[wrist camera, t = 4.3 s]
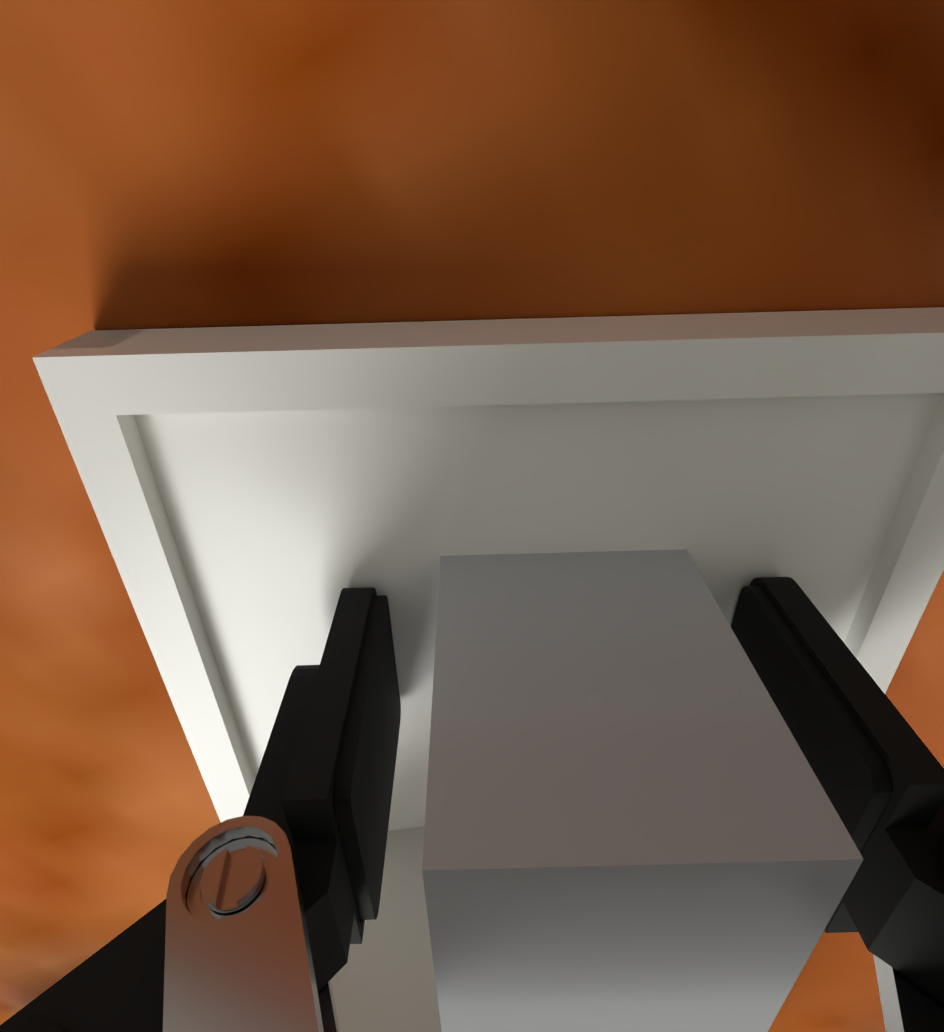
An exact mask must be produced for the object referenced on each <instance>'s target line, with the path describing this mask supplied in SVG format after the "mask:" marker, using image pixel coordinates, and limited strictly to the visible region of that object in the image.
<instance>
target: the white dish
mask: <svg viewBox="0 0 944 1032" xmlns="http://www.w3.org/2000/svg"><path fill="white" fill-rule="evenodd" d="M32 358H33V361H34V363H35V366H36V368H37V371H38V373H39V375H40V378H41V380H42V383H43V385H44V388H45V390H46V393H47V395H48V398H49V400H50V403H51V405H52V407H53V410H54V412H55V415H56V417H57V420H58V422H59V425H60V427H61V430H62V432H63V435H64V437H65V439H66V442H67V444H68V447H69V449H70V452H71V454H72V457H73V459H74V462H75V464H76V467H77V469H78V472H79V474H80V476H81V479H82V481H83V484H84V486H85V489H86V491H87V494H88V496H89V499H90V501H91V504H92V506H93V508H94V511H95V513H96V516H97V518H98V521H99V523H100V526H101V528H102V531H103V533H104V536H105V538H106V541H107V543H108V545H109V548H110V550H111V553H112V555H113V558H114V560H115V563H116V565H117V568H118V570H119V573H120V575H121V577H122V580H123V582H124V585H125V587H126V590H127V592H128V595H129V597H130V600H131V602H132V605H133V607H134V610H135V612H136V614H137V617H138V619H139V622H140V624H141V627H142V629H143V632H144V634H145V637H146V639H147V642H148V644H149V646H150V649H151V651H152V654H153V656H154V659H155V661H156V664H157V666H158V669H159V671H160V674H161V676H162V679H163V681H164V683H165V686H166V688H167V691H168V693H169V696H170V698H171V701H172V703H173V706H174V708H175V711H176V713H177V715H178V718H179V720H180V723H181V725H182V728H183V730H184V733H185V735H186V738H187V740H188V743H189V745H190V748H191V750H192V752H193V755H194V757H195V760H196V762H197V765H198V767H199V770H200V772H201V775H202V777H203V780H204V782H205V784H206V787H207V789H208V792H209V794H210V797H211V799H212V802H213V804H214V807H215V809H216V812H217V814H218V817H219V819H220V821H221V822H223V821H225V820H227V819H232V818H236V817H241V816H243V814H244V811H245V808H246V805H247V802H248V799H249V796H250V794H251V791H252V788H253V785H254V782H255V779H256V776H257V773H258V770H259V767H260V764H261V761H262V758H263V755H264V752H265V749H266V746H267V743H268V740H269V737H270V734H271V732H272V729H273V726H274V723H275V720H276V717H277V714H278V711H279V708H280V705H281V702H282V699H283V696H284V693H285V690H286V687H287V684H288V681H289V678H290V676H291V673H292V671H293V669H294V668H295V667H296V666H297V665H320V662H321V659H322V655H323V652H324V648H325V645H326V641H327V638H328V634H329V631H330V628H331V624H332V621H333V617H334V614H335V610H336V607H337V603H338V600H339V596H340V593H341V590H342V589H343V588H367V587H374V588H375V589H376V593H377V596H378V595H386V596H387V598H388V604H389V612H390V620H391V628H392V636H393V644H394V653H395V661H396V669H397V677H398V685H399V694H400V702H401V720H400V729H399V738H398V747H397V756H396V764H395V773H394V782H393V791H392V799H391V808H390V817H389V826H388V831H391V830H399V829H406V828H414V827H422V826H425V812H426V795H427V778H428V761H429V744H430V727H431V710H432V693H433V676H434V659H435V642H436V625H437V608H438V591H439V574H440V557H441V556H457V555H494V554H532V553H569V552H607V551H645V550H682V549H686V550H687V552H688V553H689V555H690V557H691V559H692V560H693V562H694V564H695V566H696V567H697V569H698V571H699V573H700V574H701V576H702V578H703V580H704V581H705V583H706V585H707V587H708V588H709V590H710V592H711V594H712V595H713V597H714V599H715V601H716V602H717V604H718V606H719V608H720V609H721V611H722V613H723V614H724V616H725V618H726V620H727V621H728V623H729V625H730V627H731V624H732V621H733V617H734V613H735V609H736V605H737V602H738V598H739V594H740V591H741V589H742V588H743V587H744V586H750V583H751V581H752V580H753V579H754V578H757V577H790V578H792V579H793V580H795V581H796V583H797V584H798V585H799V586H800V588H801V589H802V590H803V591H804V593H805V594H806V595H807V597H808V598H809V599H810V600H811V602H812V603H813V604H814V605H815V607H816V608H817V609H818V610H819V612H820V613H821V614H822V616H823V617H824V618H825V619H826V621H827V622H828V623H829V624H830V626H831V627H832V628H833V629H834V631H835V632H836V633H837V635H838V636H839V637H840V638H841V640H842V641H843V642H844V643H845V645H846V646H847V647H848V648H849V650H850V651H851V652H852V654H853V655H854V656H855V657H856V659H857V660H858V661H859V662H860V663H861V665H862V666H863V667H864V668H865V670H866V671H867V672H868V673H869V675H870V676H871V677H872V679H873V680H874V681H875V682H876V684H877V685H878V686H879V687H880V689H881V690H882V691H883V692H884V694H885V693H886V690H887V688H888V686H889V684H890V682H891V680H892V678H893V676H894V674H895V671H896V669H897V667H898V665H899V663H900V661H901V659H902V657H903V654H904V652H905V650H906V648H907V646H908V644H909V642H910V640H911V638H912V635H913V633H914V631H915V629H916V627H917V625H918V623H919V621H920V618H921V616H922V614H923V612H924V610H925V608H926V606H927V604H928V601H929V599H930V597H931V595H932V593H933V591H934V589H935V587H936V585H937V582H938V580H939V578H940V576H941V574H942V572H943V570H944V307H932V308H895V309H859V310H822V311H786V312H750V313H713V314H677V315H640V316H604V317H568V318H531V319H495V320H458V321H422V322H386V323H349V324H313V325H276V326H240V327H204V328H167V329H131V330H94V331H89V332H87V333H85V334H83V335H81V336H78V337H76V338H74V339H72V340H70V341H67V342H65V343H63V344H61V345H59V346H56V347H54V348H52V349H50V350H48V351H45V352H43V353H41V354H39V355H37V356H34V357H32Z"/></svg>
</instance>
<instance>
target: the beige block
mask: <svg viewBox="0 0 944 1032" xmlns="http://www.w3.org/2000/svg"><path fill="white" fill-rule="evenodd" d="M424 829H425V826H422V827H414V828H406V829H399V830H391V831H388V834H387V843H386V852H385V861H384V869H383V878H382V887H381V896H380V904H379V912H378V916H377V919H376V920H365V924H364V931H363V939H362V944H350V948H349V954H348V961H347V963H346V965H345V966H344V967H343V968H342V969H341V970H340V971H339V972H338V973H337V974H336V975H335V976H334V977H333V978H332V979H331V985H332V991H333V997H334V1002H335V1008H336V1013H337V1019H338V1025H339V1030H340V1032H442V1030H441V1022H440V1014H439V1006H438V997H437V989H436V981H435V973H434V965H433V956H432V948H431V940H430V932H429V923H428V915H427V907H426V899H425V891H424V882H423V874H422V863H423V846H424Z"/></svg>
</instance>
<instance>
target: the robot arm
mask: <svg viewBox="0 0 944 1032" xmlns="http://www.w3.org/2000/svg"><path fill="white" fill-rule="evenodd" d="M731 628H732V630H733V632H734V634H735V635H736V637H737V639H738V641H739V642H740V644H741V646H742V648H743V649H744V651H745V653H746V655H747V656H748V658H749V660H750V662H751V663H752V665H753V667H754V669H755V670H756V672H757V674H758V676H759V677H760V679H761V681H762V683H763V684H764V686H765V688H766V690H767V691H768V693H769V695H770V697H771V698H772V700H773V702H774V703H775V705H776V707H777V709H778V710H779V712H780V714H781V716H782V717H783V719H784V721H785V723H786V724H787V726H788V728H789V730H790V731H791V733H792V735H793V737H794V738H795V740H796V742H797V744H798V745H799V747H800V749H801V751H802V752H803V754H804V756H805V758H806V759H807V761H808V763H809V765H810V766H811V768H812V770H813V772H814V773H815V775H816V777H817V779H818V780H819V782H820V784H821V786H822V787H823V789H824V791H825V792H826V794H827V796H828V798H829V799H830V801H831V803H832V805H833V806H834V808H835V810H836V812H837V813H838V815H839V817H840V819H841V820H842V822H843V824H844V826H845V827H846V829H847V831H848V833H849V834H850V836H851V838H852V840H853V841H854V843H855V845H856V847H857V848H858V850H859V852H860V854H861V855H862V857H863V859H864V860H863V862H862V863H861V865H860V867H859V869H858V870H857V872H856V874H855V876H854V878H853V879H852V881H851V883H850V885H849V887H848V888H847V890H846V892H845V894H844V896H843V897H842V899H841V901H840V903H839V904H838V906H837V908H836V910H835V912H834V913H833V915H832V917H831V919H830V921H829V922H828V924H827V926H826V928H825V929H824V930H825V932H826V933H833V932H859V934H860V936H861V937H862V939H863V941H864V943H865V945H866V947H867V949H868V951H870V952H871V953H873V956H874V962H875V968H876V974H877V980H878V986H879V992H880V999H881V1005H882V1011H883V1017H884V1023H885V1029H886V1032H944V768H943V767H942V766H941V765H940V763H939V762H938V761H937V760H936V758H935V757H934V756H933V755H932V753H931V752H930V751H929V749H928V748H927V747H926V746H925V744H924V743H923V742H922V741H921V739H920V738H919V737H918V736H917V734H916V733H915V732H914V730H913V729H912V728H911V727H910V725H909V724H908V723H907V722H906V720H905V719H904V718H903V717H902V715H901V714H900V713H899V711H898V710H897V709H896V708H895V706H894V705H893V704H892V703H891V701H890V700H889V699H888V698H887V696H886V695H885V694H884V692H883V691H882V690H881V689H880V687H879V686H878V685H877V684H876V682H875V681H874V680H873V679H872V677H871V676H870V675H869V673H868V672H867V671H866V670H865V668H864V667H863V666H862V665H861V663H860V662H859V661H858V660H857V659H856V657H855V656H854V655H853V654H852V652H851V651H850V650H849V648H848V647H847V646H846V645H845V643H844V642H843V641H842V640H841V638H840V637H839V636H838V635H837V633H836V632H835V631H834V629H833V628H832V627H831V626H830V624H829V623H828V622H827V621H826V619H825V618H824V617H823V616H822V614H821V613H820V612H819V610H818V609H817V608H816V607H815V605H814V604H813V603H812V602H811V600H810V599H809V598H808V597H807V595H806V594H805V593H804V591H803V590H802V589H801V588H800V586H799V585H798V584H797V583H796V581H795V580H793V579H792V578H790V577H757V578H754V579H753V580H752V581H751V583H750V586H744V587H743V588H742V589H741V591H740V594H739V598H738V602H737V605H736V609H735V613H734V617H733V621H732V624H731ZM400 720H401V702H400V694H399V685H398V677H397V669H396V661H395V653H394V644H393V636H392V628H391V620H390V612H389V604H388V598H387V596H386V595H378V596H377V593H376V589H375V588H374V587H367V588H343V589H342V590H341V593H340V596H339V600H338V603H337V607H336V610H335V614H334V617H333V621H332V624H331V628H330V631H329V634H328V638H327V641H326V645H325V648H324V652H323V655H322V659H321V662H320V665H297V666H296V667H295V668H294V669H293V671H292V673H291V676H290V678H289V681H288V684H287V687H286V690H285V693H284V696H283V699H282V702H281V705H280V708H279V711H278V714H277V717H276V720H275V723H274V726H273V729H272V732H271V734H270V737H269V740H268V743H267V746H266V749H265V752H264V755H263V758H262V761H261V764H260V767H259V770H258V773H257V776H256V779H255V782H254V785H253V788H252V791H251V794H250V796H249V799H248V802H247V805H246V808H245V811H244V814H243V816H241V817H236V818H232V819H227V820H225V821H223V822H221V823H219V824H217V825H215V826H213V827H211V828H209V829H208V830H207V831H205V832H204V833H203V834H202V835H200V836H199V837H198V838H197V839H195V840H194V841H193V842H192V843H191V844H190V846H189V847H188V848H187V849H186V851H185V852H184V853H183V854H182V855H181V857H180V858H179V860H178V862H177V864H176V866H175V868H174V870H173V872H172V874H171V876H170V880H169V885H168V891H167V897H166V899H165V900H164V901H163V902H162V903H160V904H159V905H158V906H156V907H155V908H154V909H152V910H151V911H150V912H148V913H147V914H146V915H144V916H143V917H142V918H141V919H139V920H138V921H137V922H135V923H134V924H133V925H131V926H130V927H129V928H127V929H126V930H125V931H123V932H122V933H121V934H120V935H118V936H117V937H116V938H114V939H113V940H112V941H110V942H109V943H108V944H106V945H105V946H104V947H103V948H101V949H100V950H99V951H97V952H96V953H95V954H93V955H92V956H91V957H89V958H88V959H87V960H85V961H84V962H83V963H82V964H80V965H79V966H78V967H76V968H75V969H74V970H72V971H71V972H70V973H68V974H67V975H66V976H64V977H63V978H62V979H61V980H59V981H58V982H57V983H55V984H54V985H53V986H51V987H50V988H49V989H47V990H46V991H45V992H44V993H42V994H41V995H40V996H38V997H37V998H36V999H34V1000H33V1001H32V1002H30V1003H29V1004H28V1005H26V1006H25V1007H24V1008H23V1009H21V1010H20V1011H19V1012H17V1013H16V1014H15V1015H13V1016H12V1017H11V1018H9V1019H8V1020H7V1021H5V1022H4V1023H3V1024H2V1025H0V1032H340V1030H339V1025H338V1019H337V1013H336V1008H335V1002H334V997H333V991H332V985H331V979H332V978H333V977H334V976H335V975H336V974H337V973H338V972H339V971H340V970H341V969H342V968H343V967H344V966H345V965H346V963H347V961H348V954H349V948H350V944H362V939H363V931H364V924H365V920H376V919H377V916H378V912H379V904H380V896H381V887H382V878H383V869H384V861H385V852H386V843H387V834H388V826H389V817H390V808H391V799H392V791H393V782H394V773H395V764H396V756H397V747H398V738H399V729H400Z"/></svg>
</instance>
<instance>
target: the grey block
mask: <svg viewBox="0 0 944 1032" xmlns="http://www.w3.org/2000/svg"><path fill="white" fill-rule="evenodd" d="M863 860H864V859H863V857H862V855H861V854H860V852H859V850H858V848H857V847H856V845H855V843H854V841H853V840H852V838H851V836H850V834H849V833H848V831H847V829H846V827H845V826H844V824H843V822H842V820H841V819H840V817H839V815H838V813H837V812H836V810H835V808H834V806H833V805H832V803H831V801H830V799H829V798H828V796H827V794H826V792H825V791H824V789H823V787H822V786H821V784H820V782H819V780H818V779H817V777H816V775H815V773H814V772H813V770H812V768H811V766H810V765H809V763H808V761H807V759H806V758H805V756H804V754H803V752H802V751H801V749H800V747H799V745H798V744H797V742H796V740H795V738H794V737H793V735H792V733H791V731H790V730H789V728H788V726H787V724H786V723H785V721H784V719H783V717H782V716H781V714H780V712H779V710H778V709H777V707H776V705H775V703H774V702H773V700H772V698H771V697H770V695H769V693H768V691H767V690H766V688H765V686H764V684H763V683H762V681H761V679H760V677H759V676H758V674H757V672H756V670H755V669H754V667H753V665H752V663H751V662H750V660H749V658H748V656H747V655H746V653H745V651H744V649H743V648H742V646H741V644H740V642H739V641H738V639H737V637H736V635H735V634H734V632H733V630H732V628H731V627H730V625H729V623H728V621H727V620H726V618H725V616H724V614H723V613H722V611H721V609H720V608H719V606H718V604H717V602H716V601H715V599H714V597H713V595H712V594H711V592H710V590H709V588H708V587H707V585H706V583H705V581H704V580H703V578H702V576H701V574H700V573H699V571H698V569H697V567H696V566H695V564H694V562H693V560H692V559H691V557H690V555H689V553H688V552H687V550H686V549H682V550H645V551H607V552H569V553H532V554H494V555H457V556H441V557H440V574H439V591H438V608H437V625H436V642H435V659H434V676H433V693H432V710H431V727H430V744H429V761H428V778H427V795H426V812H425V829H424V846H423V863H422V874H423V882H424V891H425V899H426V907H427V915H428V923H429V932H430V940H431V948H432V956H433V965H434V973H435V981H436V989H437V997H438V1006H439V1014H440V1022H441V1030H442V1032H767V1031H768V1030H769V1028H770V1026H771V1024H772V1022H773V1021H774V1019H775V1017H776V1015H777V1014H778V1012H779V1010H780V1008H781V1006H782V1005H783V1003H784V1001H785V999H786V997H787V996H788V994H789V992H790V990H791V988H792V987H793V985H794V983H795V981H796V980H797V978H798V976H799V974H800V972H801V971H802V969H803V967H804V965H805V963H806V962H807V960H808V958H809V956H810V955H811V953H812V951H813V949H814V947H815V946H816V944H817V942H818V940H819V938H820V937H821V935H822V933H823V931H824V929H825V928H826V926H827V924H828V922H829V921H830V919H831V917H832V915H833V913H834V912H835V910H836V908H837V906H838V904H839V903H840V901H841V899H842V897H843V896H844V894H845V892H846V890H847V888H848V887H849V885H850V883H851V881H852V879H853V878H854V876H855V874H856V872H857V870H858V869H859V867H860V865H861V863H862V862H863Z"/></svg>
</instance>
